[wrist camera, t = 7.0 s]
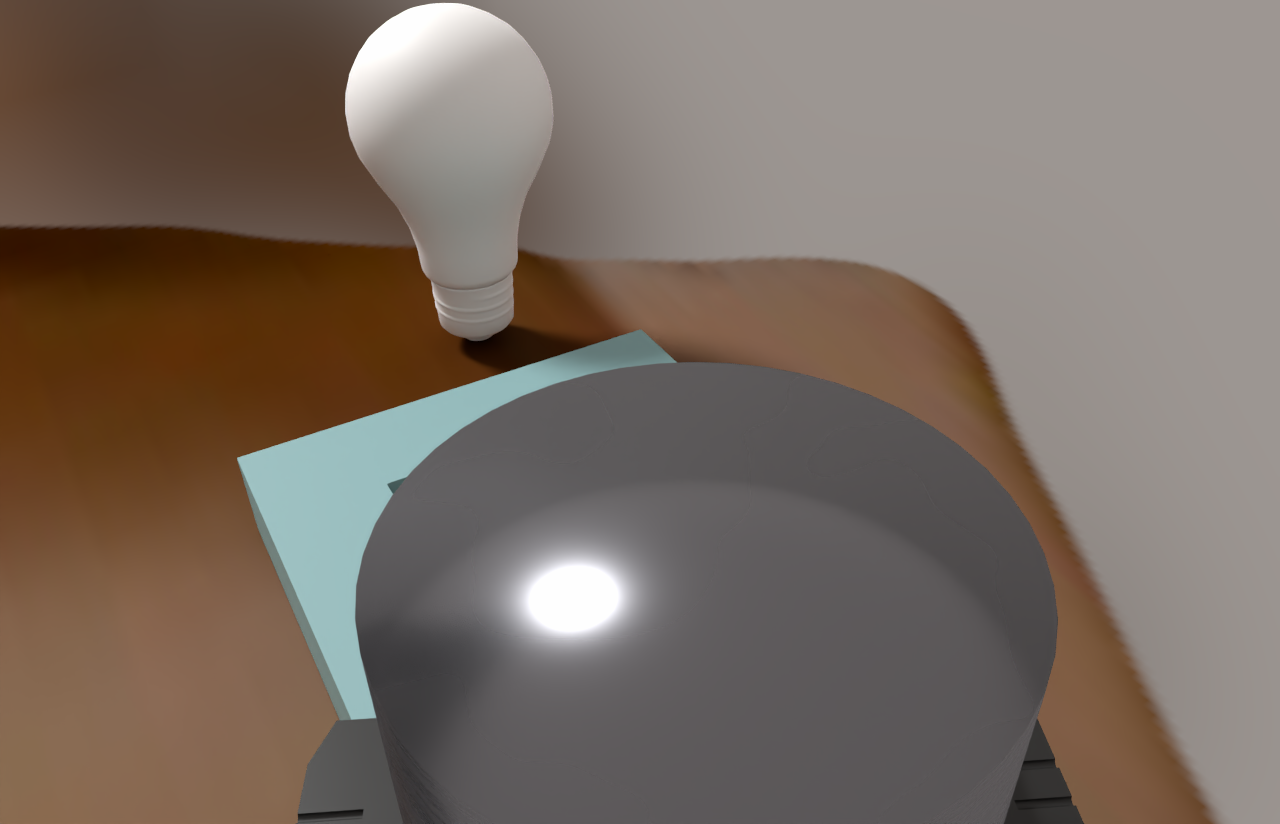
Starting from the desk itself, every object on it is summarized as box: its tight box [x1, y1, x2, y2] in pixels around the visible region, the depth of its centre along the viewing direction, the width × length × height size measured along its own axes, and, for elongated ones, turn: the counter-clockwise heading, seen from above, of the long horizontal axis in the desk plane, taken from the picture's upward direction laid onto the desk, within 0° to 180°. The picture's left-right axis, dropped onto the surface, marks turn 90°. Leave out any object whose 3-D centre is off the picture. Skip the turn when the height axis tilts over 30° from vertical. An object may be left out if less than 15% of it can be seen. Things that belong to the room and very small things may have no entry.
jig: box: [237, 329, 677, 720], centre depth 27 cm, size 12×12×2 cm
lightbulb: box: [345, 3, 553, 341], centre depth 34 cm, size 6×6×11 cm
